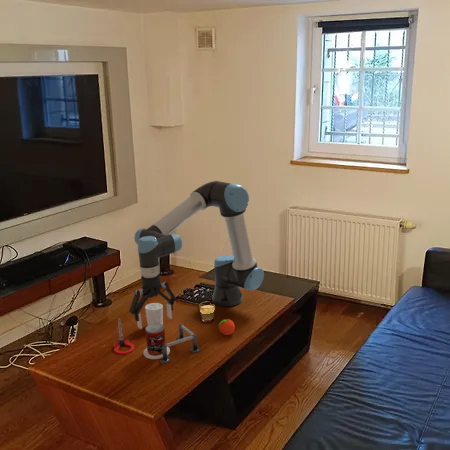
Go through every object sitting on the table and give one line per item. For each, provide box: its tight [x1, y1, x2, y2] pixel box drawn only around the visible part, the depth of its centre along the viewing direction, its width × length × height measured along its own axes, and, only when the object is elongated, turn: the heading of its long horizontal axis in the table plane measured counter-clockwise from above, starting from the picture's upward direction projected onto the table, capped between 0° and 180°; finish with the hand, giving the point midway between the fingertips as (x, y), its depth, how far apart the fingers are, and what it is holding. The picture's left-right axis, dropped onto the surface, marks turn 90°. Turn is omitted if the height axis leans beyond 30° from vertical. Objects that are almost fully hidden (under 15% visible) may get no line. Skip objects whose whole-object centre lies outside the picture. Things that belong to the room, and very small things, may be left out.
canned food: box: [145, 323, 167, 356], centre depth 228 cm, size 8×8×11 cm
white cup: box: [144, 302, 164, 326], centre depth 251 cm, size 8×8×10 cm
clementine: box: [217, 318, 236, 336], centre depth 241 cm, size 8×7×7 cm
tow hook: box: [113, 318, 135, 356], centre depth 231 cm, size 8×13×9 cm
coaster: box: [142, 346, 171, 360], centre depth 229 cm, size 11×11×1 cm
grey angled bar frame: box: [159, 323, 202, 364], centre depth 230 cm, size 18×16×7 cm
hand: (155, 322), depth 226 cm, fingers open, 13 cm apart
